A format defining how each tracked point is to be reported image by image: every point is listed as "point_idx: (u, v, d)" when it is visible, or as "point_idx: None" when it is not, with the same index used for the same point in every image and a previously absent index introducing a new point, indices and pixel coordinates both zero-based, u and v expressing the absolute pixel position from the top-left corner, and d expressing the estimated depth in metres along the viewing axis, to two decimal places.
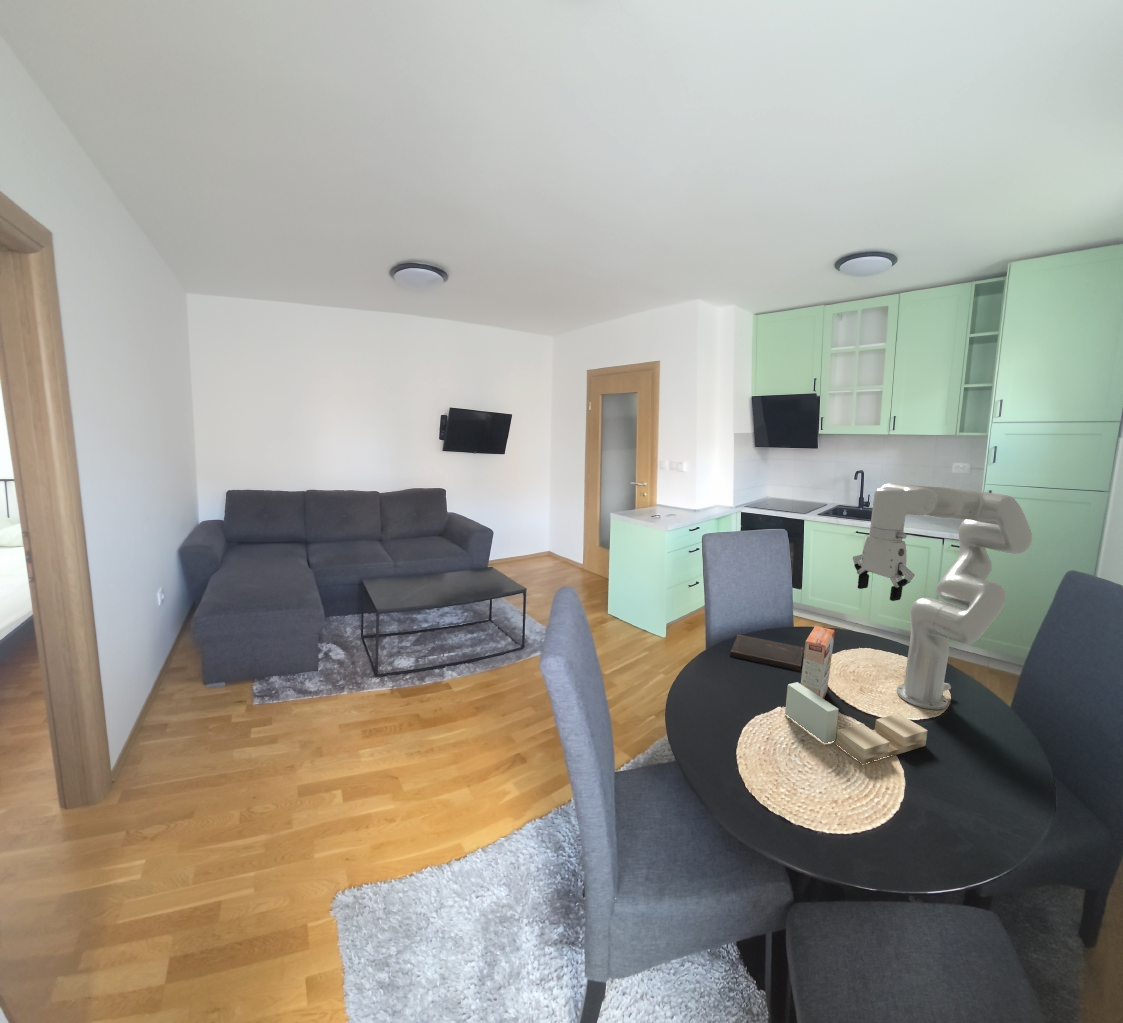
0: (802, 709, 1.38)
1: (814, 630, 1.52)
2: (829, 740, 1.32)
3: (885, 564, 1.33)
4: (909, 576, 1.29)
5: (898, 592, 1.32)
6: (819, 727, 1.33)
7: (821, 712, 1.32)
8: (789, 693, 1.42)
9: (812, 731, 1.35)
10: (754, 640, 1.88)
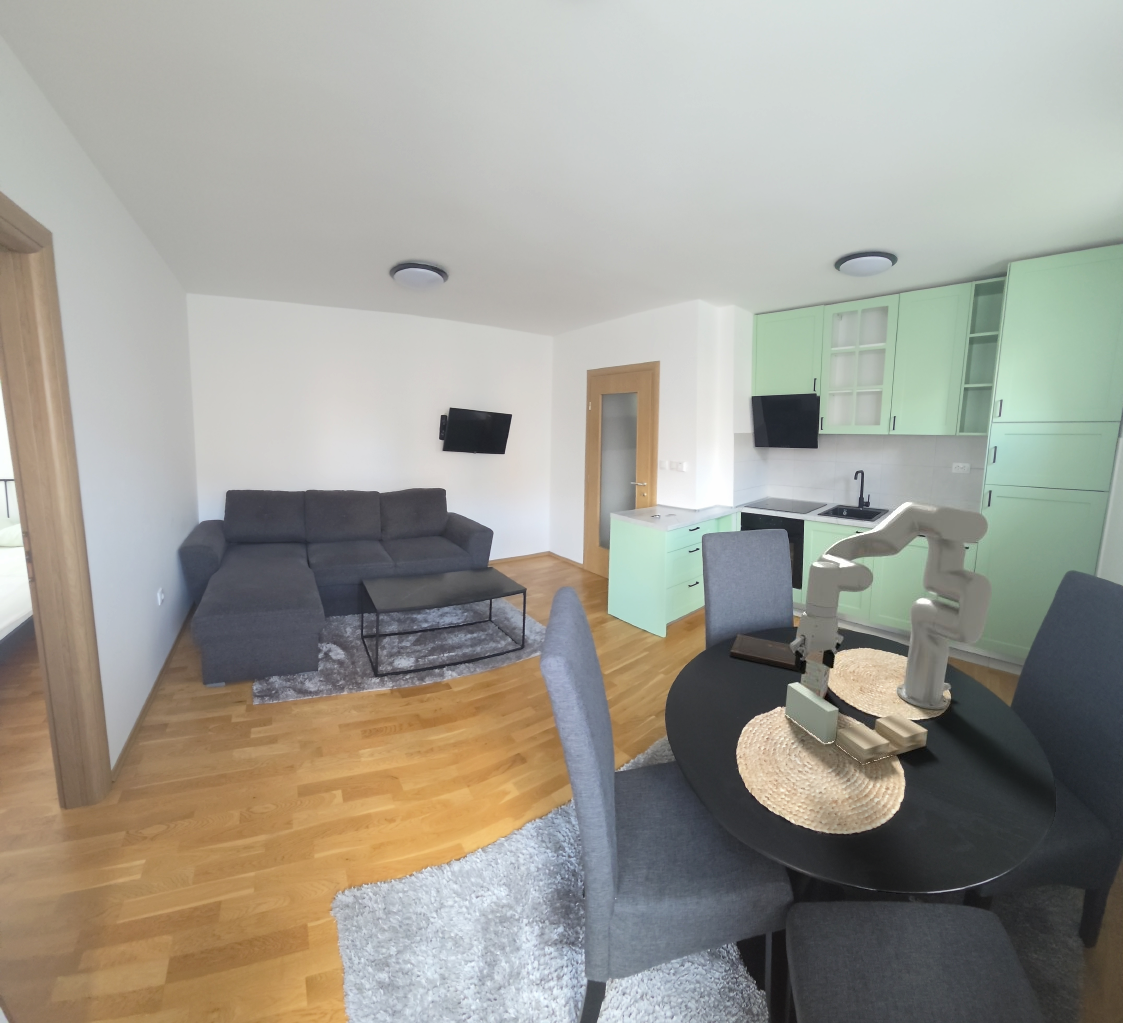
0: (802, 709, 1.38)
1: None
2: (829, 740, 1.32)
3: (832, 638, 1.32)
4: (842, 639, 1.36)
5: None
6: (819, 727, 1.33)
7: (821, 712, 1.32)
8: (789, 693, 1.42)
9: (812, 731, 1.35)
10: (754, 640, 1.88)
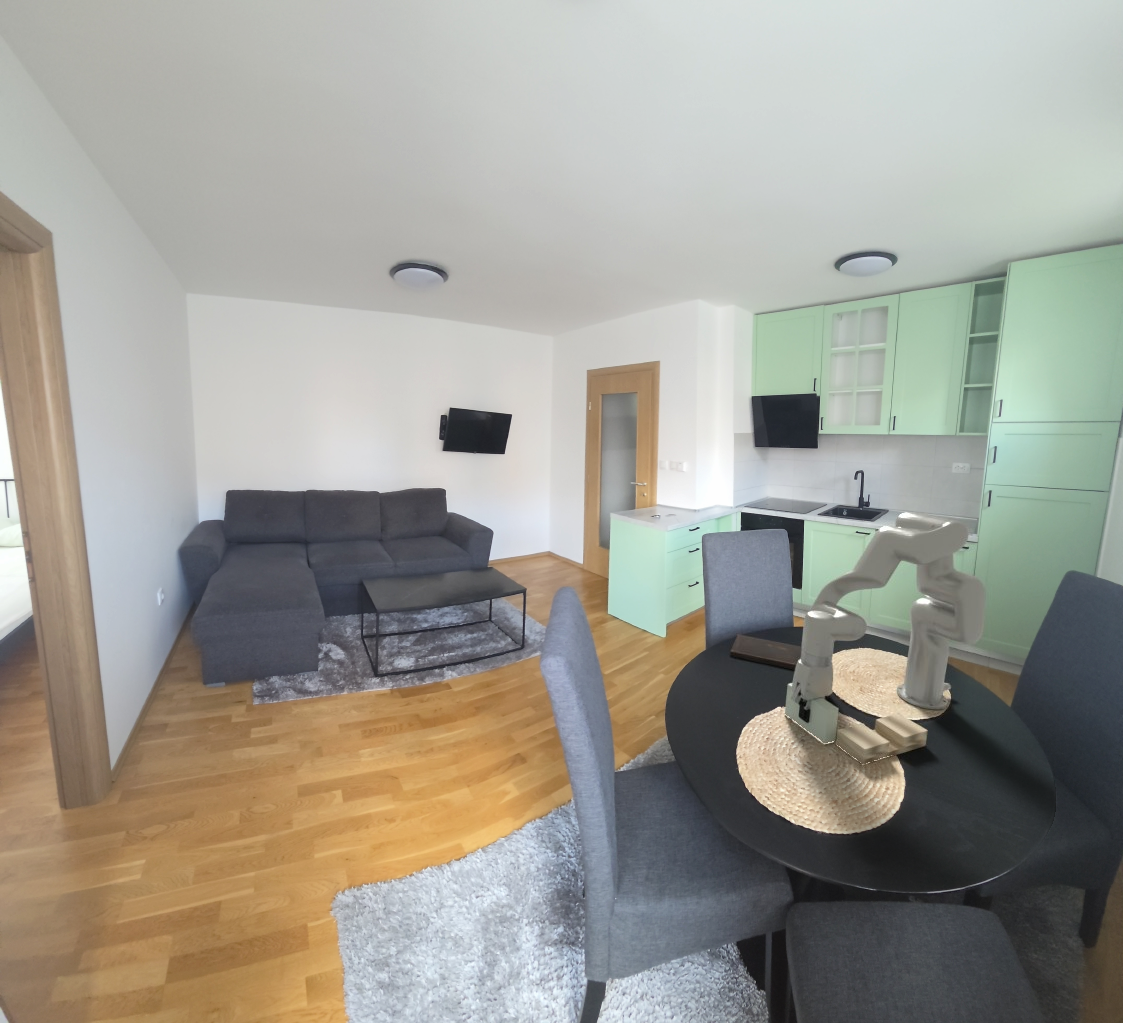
0: None
1: None
2: (829, 740, 1.32)
3: (828, 685, 1.35)
4: (831, 692, 1.38)
5: None
6: (819, 727, 1.33)
7: (821, 711, 1.32)
8: (789, 693, 1.42)
9: (812, 731, 1.35)
10: (754, 640, 1.88)
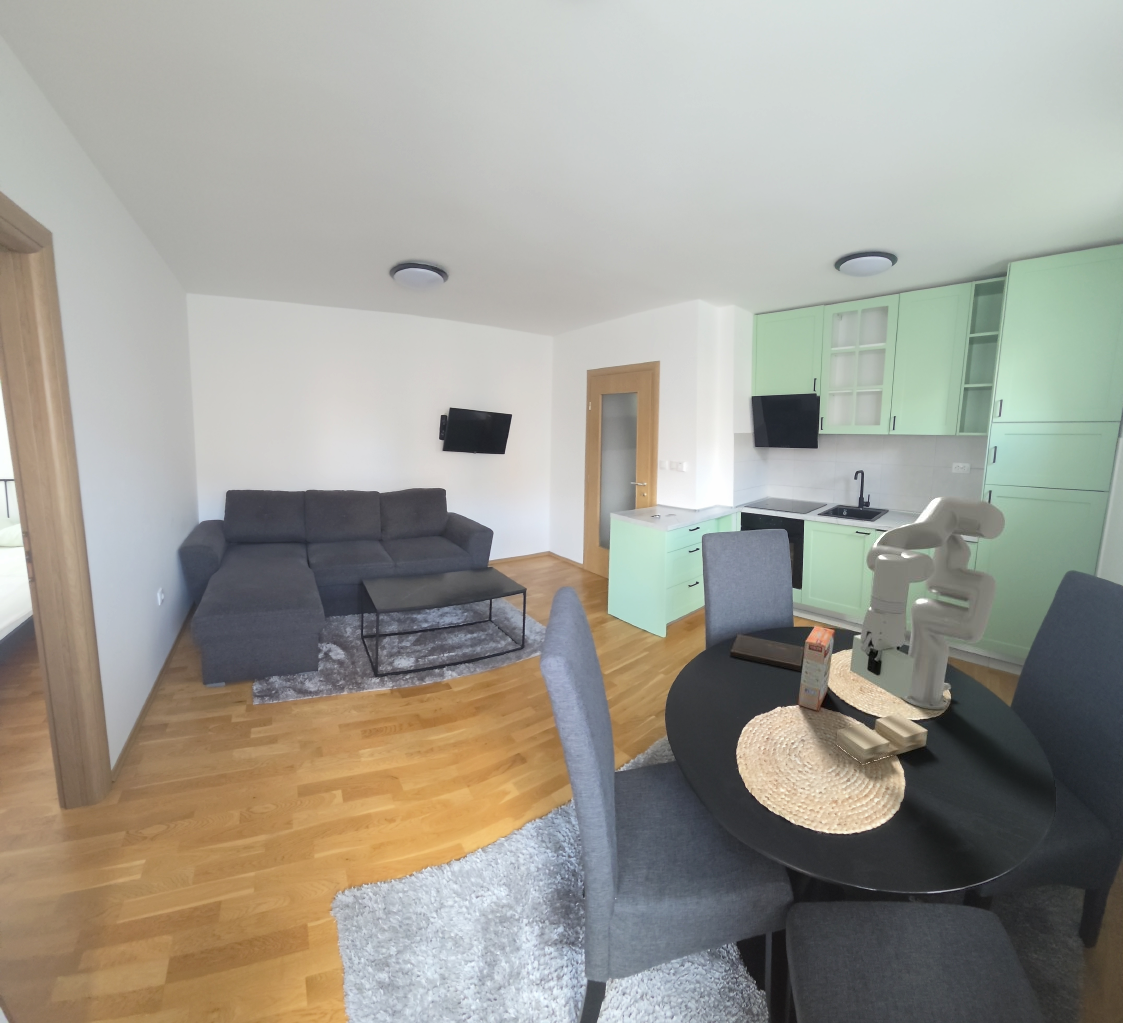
0: None
1: (814, 630, 1.52)
2: (903, 692, 1.22)
3: (901, 634, 1.25)
4: (902, 643, 1.29)
5: None
6: (892, 679, 1.23)
7: (895, 661, 1.22)
8: (855, 645, 1.33)
9: (883, 683, 1.26)
10: (754, 640, 1.88)
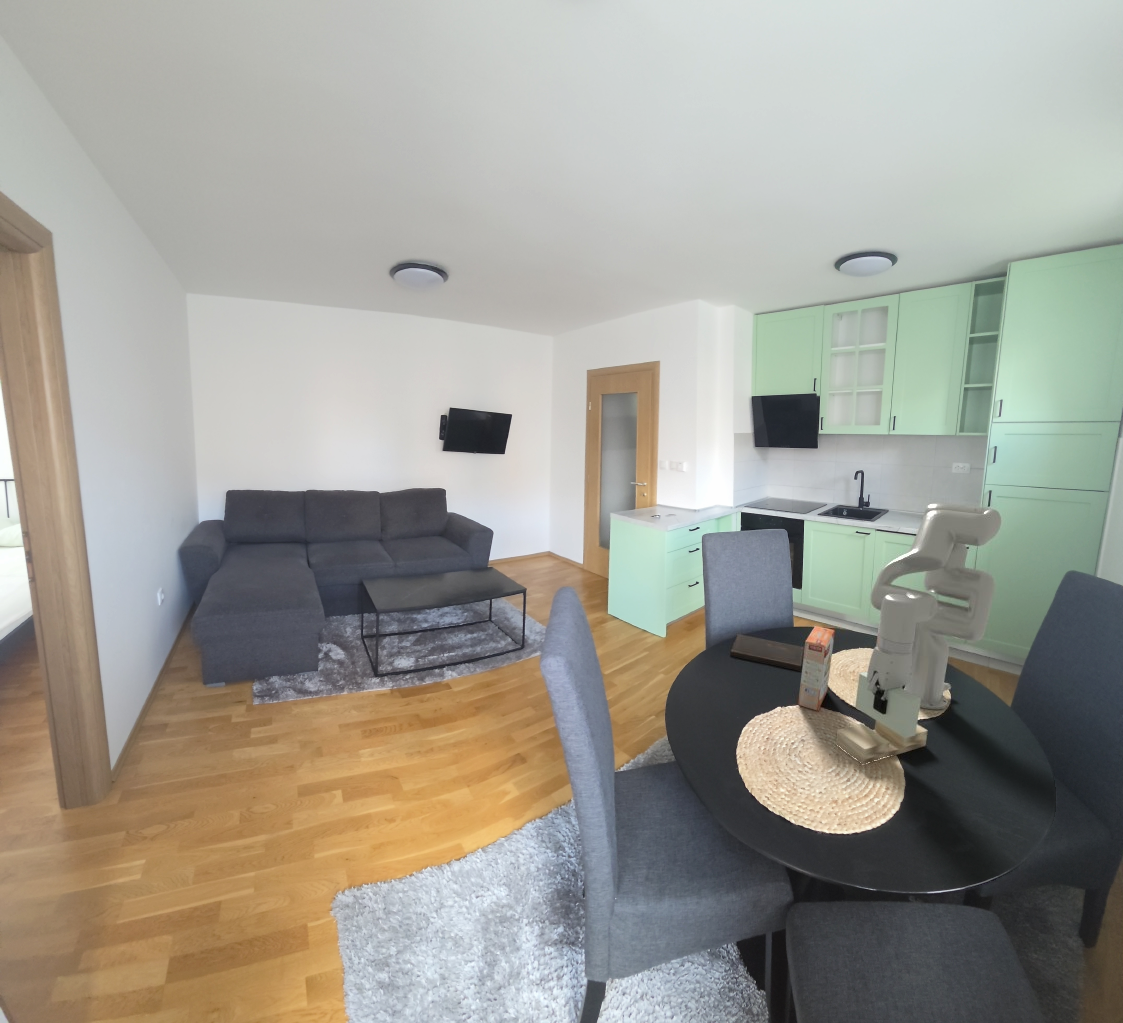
0: None
1: (814, 630, 1.52)
2: (910, 732, 1.23)
3: (906, 674, 1.26)
4: None
5: None
6: (899, 719, 1.24)
7: (902, 702, 1.23)
8: (861, 683, 1.34)
9: (890, 723, 1.26)
10: (754, 640, 1.88)
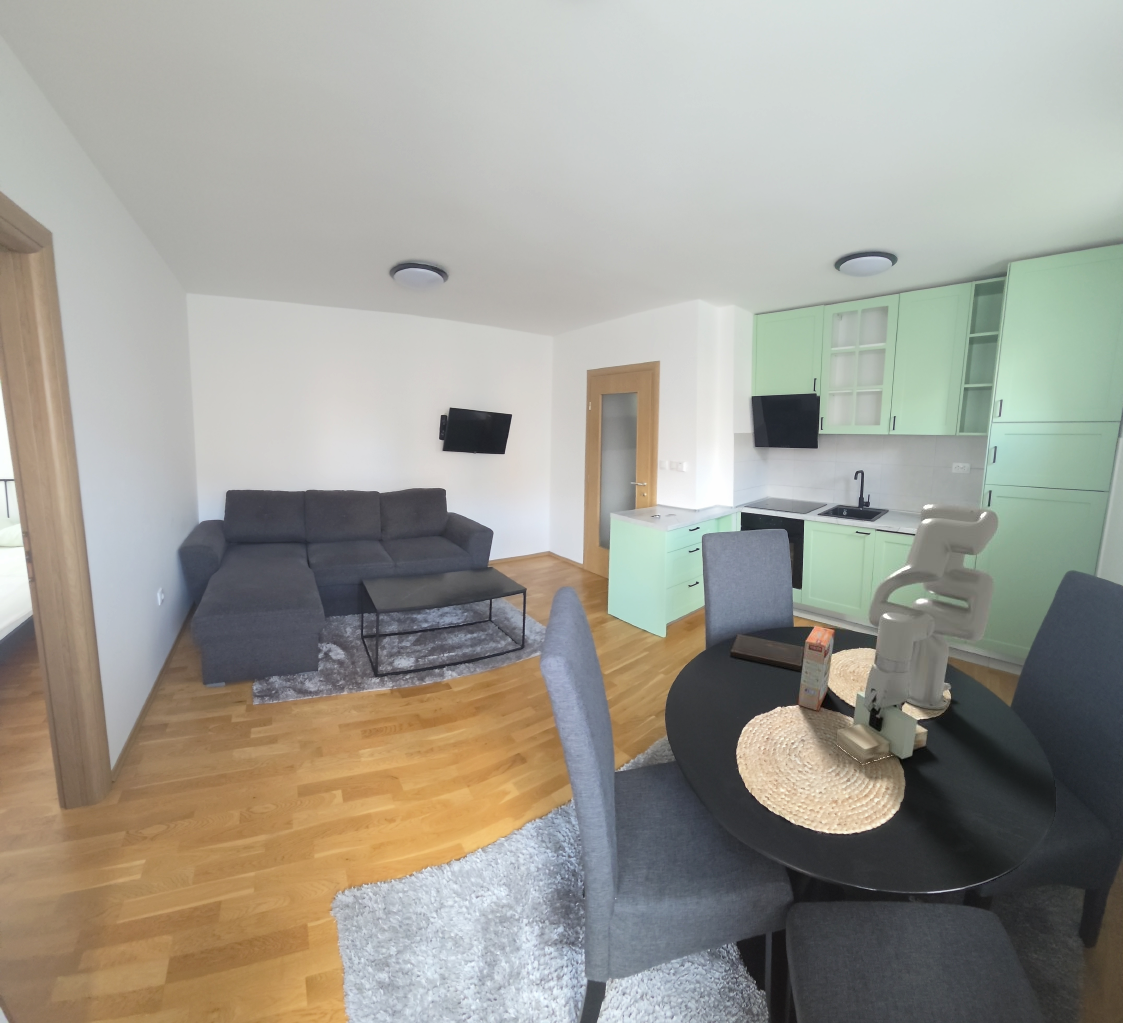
0: None
1: (814, 630, 1.52)
2: (907, 753, 1.25)
3: (904, 691, 1.27)
4: (907, 697, 1.31)
5: None
6: (896, 739, 1.25)
7: (898, 723, 1.24)
8: (858, 702, 1.35)
9: None
10: (754, 640, 1.88)
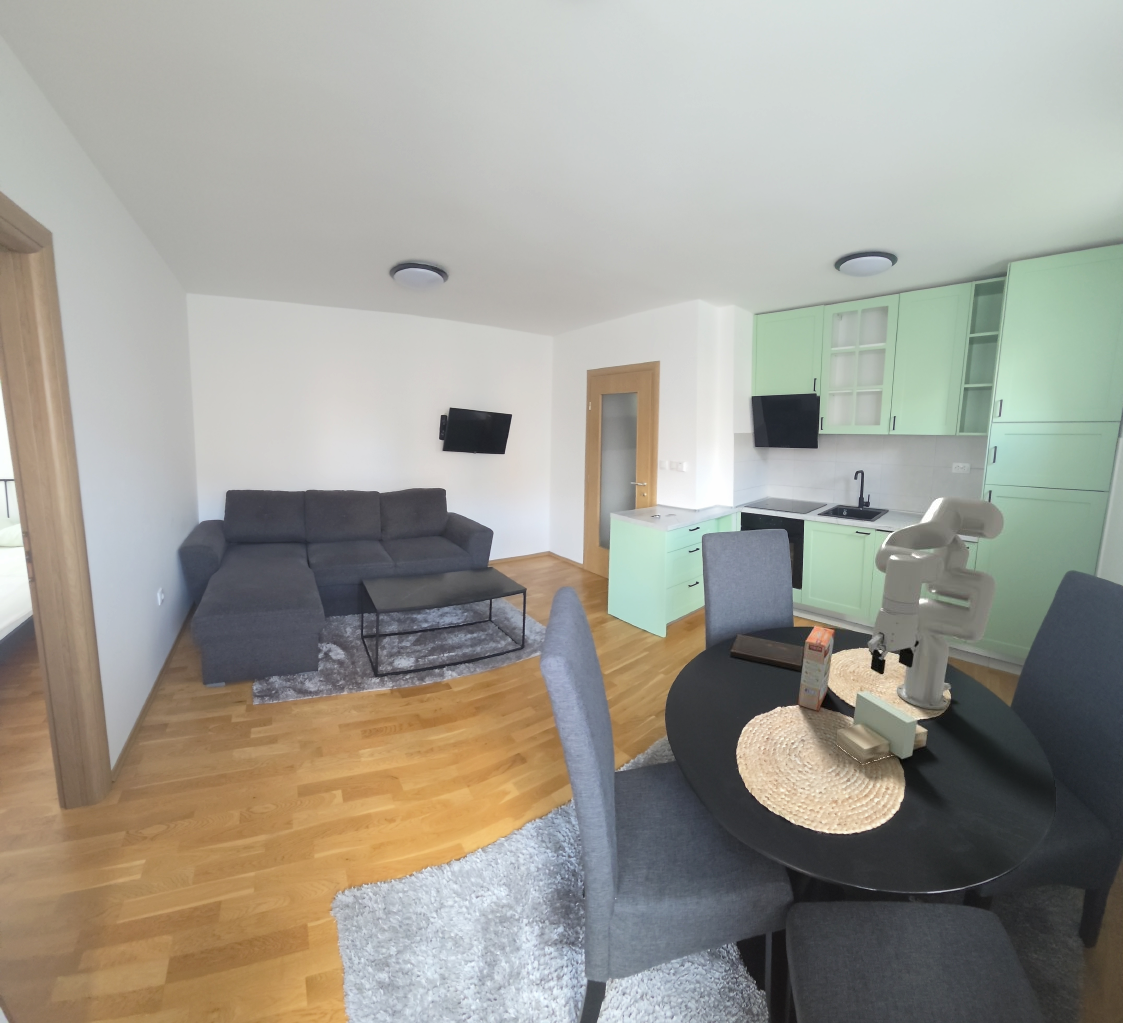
0: (875, 720, 1.31)
1: (814, 630, 1.52)
2: (907, 753, 1.25)
3: (912, 635, 1.24)
4: (920, 636, 1.28)
5: None
6: (896, 739, 1.25)
7: (898, 723, 1.24)
8: (858, 702, 1.35)
9: None
10: (754, 640, 1.88)
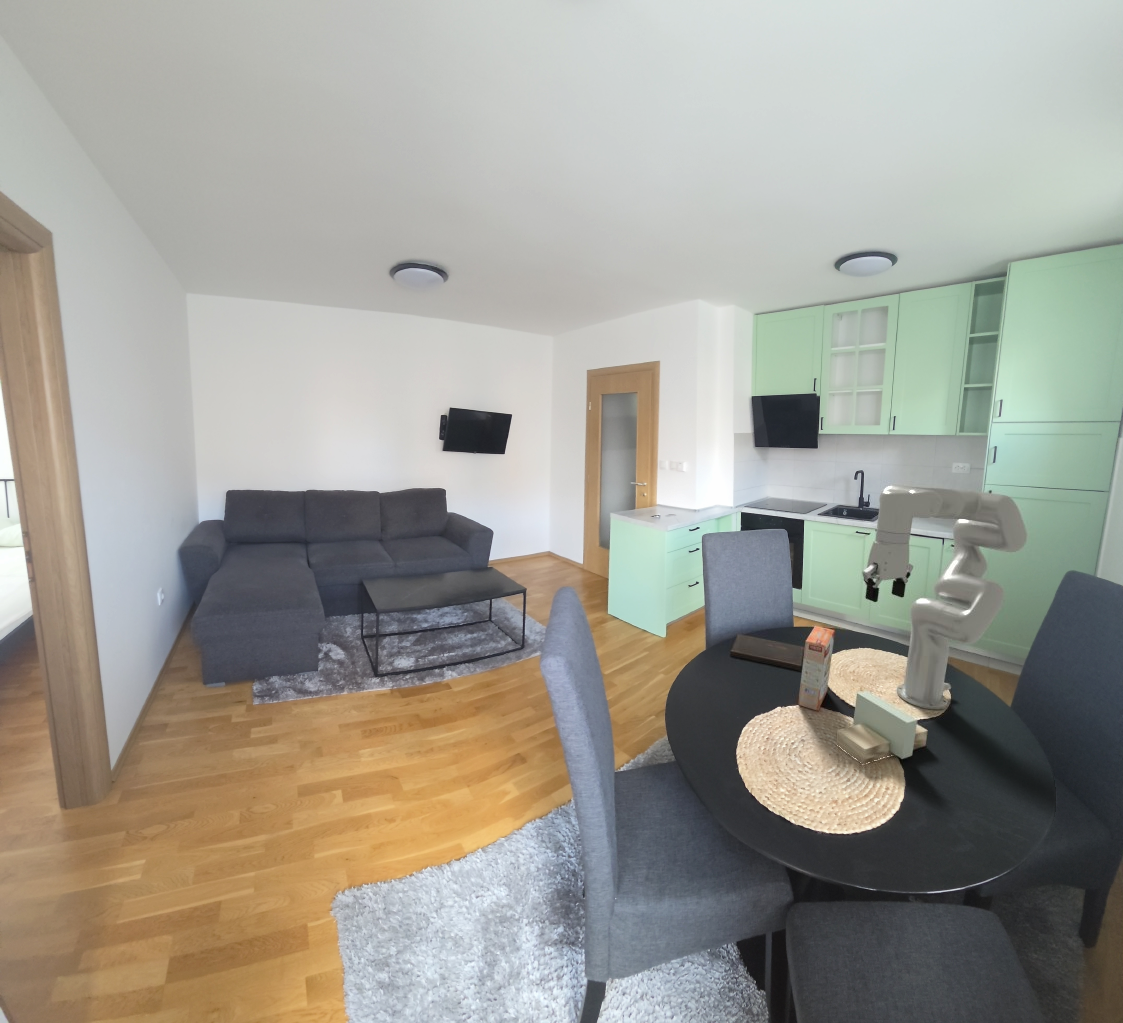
0: (875, 720, 1.31)
1: (814, 630, 1.52)
2: (907, 753, 1.25)
3: (904, 565, 1.33)
4: (911, 568, 1.37)
5: None
6: (896, 739, 1.25)
7: (898, 723, 1.24)
8: (858, 702, 1.35)
9: None
10: (754, 640, 1.88)
